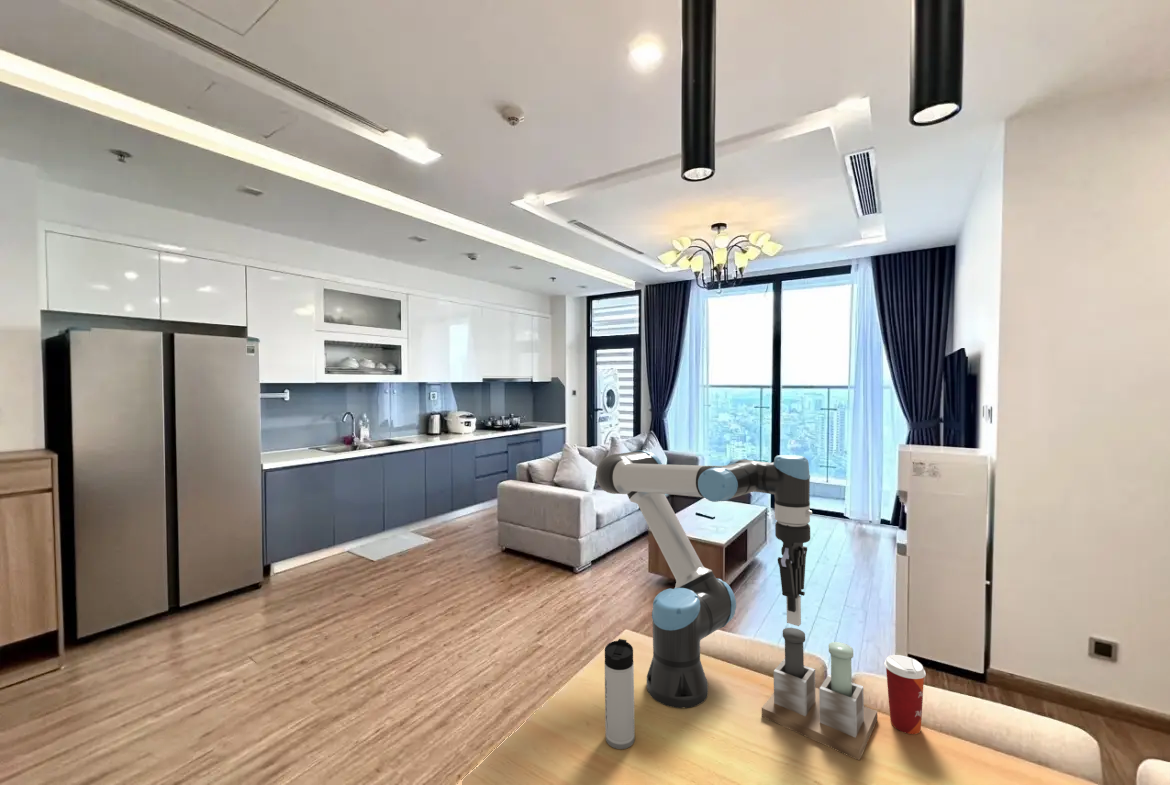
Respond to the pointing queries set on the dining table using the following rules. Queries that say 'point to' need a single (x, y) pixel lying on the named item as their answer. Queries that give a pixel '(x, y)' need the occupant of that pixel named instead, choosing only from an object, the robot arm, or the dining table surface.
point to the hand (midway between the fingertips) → (793, 623)
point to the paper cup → (905, 692)
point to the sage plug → (841, 668)
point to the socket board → (821, 711)
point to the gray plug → (794, 652)
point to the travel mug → (619, 694)
